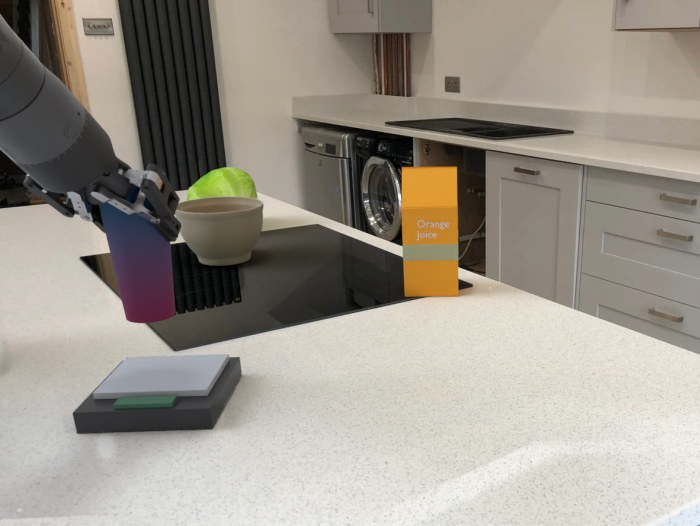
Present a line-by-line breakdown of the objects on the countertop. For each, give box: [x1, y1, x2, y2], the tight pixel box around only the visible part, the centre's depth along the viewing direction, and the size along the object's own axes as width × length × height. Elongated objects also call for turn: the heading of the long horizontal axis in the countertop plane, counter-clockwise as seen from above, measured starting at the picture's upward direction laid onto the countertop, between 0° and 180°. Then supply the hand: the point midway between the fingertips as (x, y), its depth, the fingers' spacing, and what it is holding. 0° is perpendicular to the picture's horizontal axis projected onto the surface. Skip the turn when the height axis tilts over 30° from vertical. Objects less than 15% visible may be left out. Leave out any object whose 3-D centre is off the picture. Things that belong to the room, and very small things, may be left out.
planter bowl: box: [174, 196, 265, 267], centre depth 138 cm, size 16×16×11 cm
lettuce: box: [186, 166, 258, 201], centre depth 164 cm, size 15×20×14 cm
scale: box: [72, 353, 243, 434], centre depth 82 cm, size 14×14×3 cm
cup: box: [99, 172, 177, 324], centre depth 77 cm, size 7×7×15 cm
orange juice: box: [400, 166, 459, 298], centre depth 118 cm, size 8×9×20 cm
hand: (146, 232), depth 78 cm, fingers closed on cup, 6 cm apart
